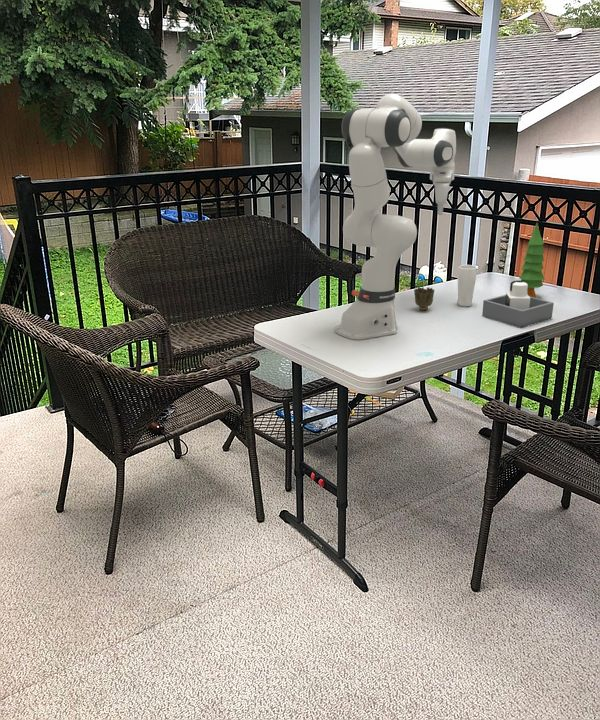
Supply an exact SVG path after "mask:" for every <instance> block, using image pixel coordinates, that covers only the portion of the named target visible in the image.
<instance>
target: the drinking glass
mask: <svg viewBox="0 0 600 720" xmlns="http://www.w3.org/2000/svg"><path fill="white" fill-rule="evenodd" d="M477 268H478V267H477V266H475V265H472V264H462V265H458V269H457V305H458V306H459V305H460V307H467V306H468V307H471V306H472V304H473V297H474V291H475V286H476V285H475V284H476V280H477V270H478V269H477Z"/></svg>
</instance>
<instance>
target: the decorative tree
mask: <svg viewBox="0 0 600 720" xmlns="http://www.w3.org/2000/svg"><path fill="white" fill-rule="evenodd" d="M543 245H545V243H544V240H543V238H542V235H541V232H540V229H539V223H538V222H536V224H535V226H534V229H533V232H532V235H531V236H530V239H529V241H528V244H527V249H526V251H525V255H524V257H523V262H524V263H523V265H522V267H521V271H522V272H521V274H520V276H519V278H518V279H519V280H520V281H525V282H527V283H528V292H527V294H528V296H530V297H534V298H537V295H536V291H535V289H538V288H541V287H543V286H544V284H543V280H546V278H545V277H544V273H543V271H542V270H543V269H544V265H543V262H545V259H544V255H543V254H544V253H545V251H544V250H545V249H544V246H543Z"/></svg>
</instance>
